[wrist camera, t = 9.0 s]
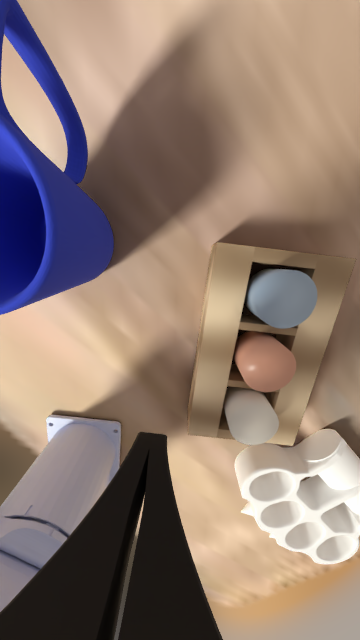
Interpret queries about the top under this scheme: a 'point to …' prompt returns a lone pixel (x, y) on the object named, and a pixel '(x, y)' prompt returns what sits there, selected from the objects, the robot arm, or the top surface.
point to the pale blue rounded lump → (281, 297)
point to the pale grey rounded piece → (249, 415)
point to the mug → (44, 191)
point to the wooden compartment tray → (226, 318)
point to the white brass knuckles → (305, 494)
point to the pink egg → (263, 361)
